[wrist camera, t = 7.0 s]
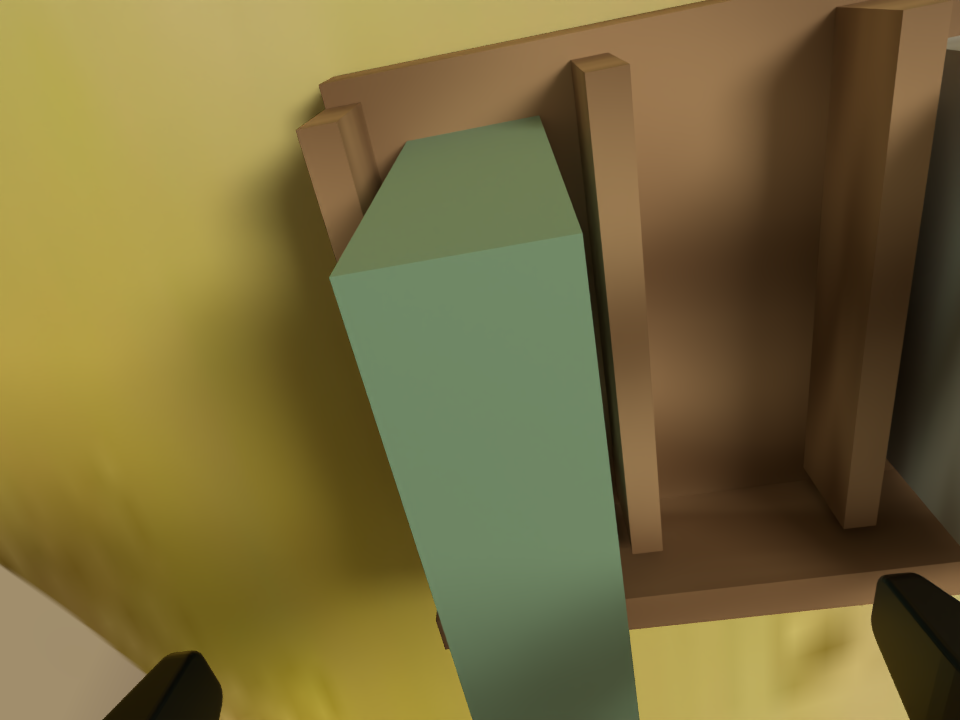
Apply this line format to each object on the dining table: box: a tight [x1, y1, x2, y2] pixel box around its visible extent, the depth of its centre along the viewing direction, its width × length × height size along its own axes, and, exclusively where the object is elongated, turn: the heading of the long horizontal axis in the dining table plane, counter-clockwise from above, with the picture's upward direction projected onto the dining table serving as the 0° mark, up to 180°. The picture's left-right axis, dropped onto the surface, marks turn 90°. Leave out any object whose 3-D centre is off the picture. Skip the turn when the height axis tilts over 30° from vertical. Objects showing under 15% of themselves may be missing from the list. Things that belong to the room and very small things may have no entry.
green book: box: [329, 115, 639, 720], centre depth 13 cm, size 10×3×8 cm, turn 11°
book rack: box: [296, 0, 960, 649], centre depth 14 cm, size 14×17×8 cm
